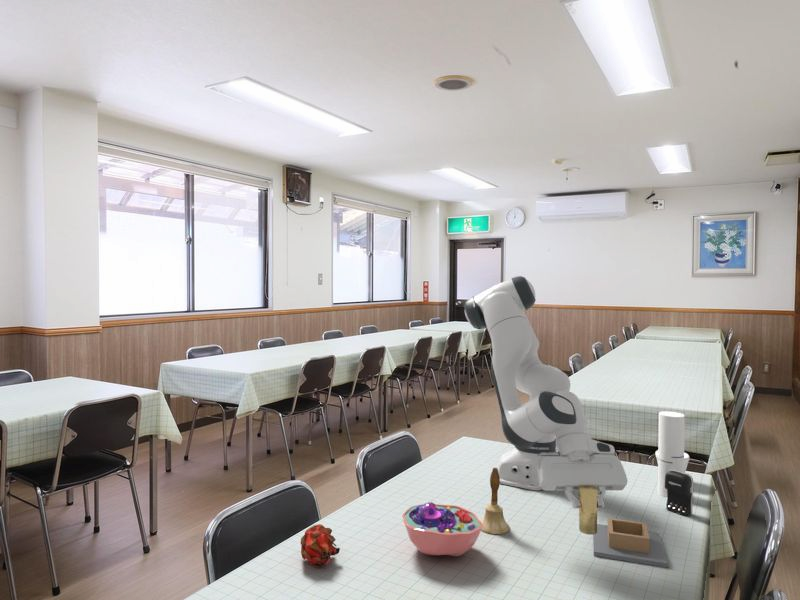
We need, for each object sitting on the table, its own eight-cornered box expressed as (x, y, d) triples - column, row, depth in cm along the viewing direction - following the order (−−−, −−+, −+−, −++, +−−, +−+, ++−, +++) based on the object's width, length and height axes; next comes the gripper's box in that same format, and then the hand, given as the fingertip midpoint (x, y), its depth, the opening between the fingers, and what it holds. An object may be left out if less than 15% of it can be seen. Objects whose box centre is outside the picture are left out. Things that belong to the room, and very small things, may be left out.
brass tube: (579, 533, 122) (579, 490, 122) (578, 525, 126) (578, 484, 126) (597, 535, 121) (597, 492, 121) (596, 527, 125) (596, 486, 124)
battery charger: (662, 509, 153) (662, 470, 153) (669, 506, 155) (670, 467, 155) (686, 518, 147) (687, 477, 147) (693, 515, 149) (694, 475, 149)
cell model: (464, 579, 116) (464, 529, 116) (388, 555, 127) (388, 508, 127) (493, 547, 131) (493, 502, 131) (422, 528, 141) (422, 486, 141)
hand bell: (490, 518, 148) (490, 461, 147) (515, 527, 142) (516, 468, 141) (472, 527, 142) (472, 468, 141) (497, 538, 136) (498, 476, 135)
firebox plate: (593, 555, 127) (593, 537, 127) (592, 527, 142) (593, 510, 142) (667, 567, 121) (668, 548, 121) (658, 536, 137) (659, 519, 136)
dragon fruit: (313, 553, 131) (328, 585, 120) (286, 540, 127) (299, 572, 117) (334, 524, 132) (350, 552, 121) (307, 510, 128) (322, 539, 118)
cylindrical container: (686, 499, 160) (688, 417, 159) (661, 497, 162) (662, 416, 161) (679, 490, 167) (680, 411, 166) (655, 488, 169) (656, 410, 168)
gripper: (536, 446, 130) (545, 502, 121) (620, 445, 130) (636, 501, 120) (532, 458, 135) (541, 512, 125) (613, 457, 134) (629, 512, 125)
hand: (588, 507), depth 123 cm, fingers closed on brass tube, 4 cm apart
